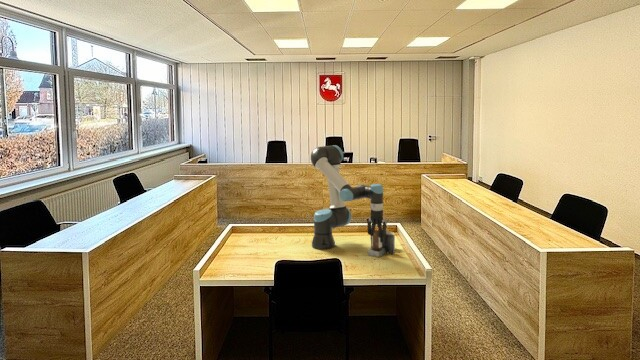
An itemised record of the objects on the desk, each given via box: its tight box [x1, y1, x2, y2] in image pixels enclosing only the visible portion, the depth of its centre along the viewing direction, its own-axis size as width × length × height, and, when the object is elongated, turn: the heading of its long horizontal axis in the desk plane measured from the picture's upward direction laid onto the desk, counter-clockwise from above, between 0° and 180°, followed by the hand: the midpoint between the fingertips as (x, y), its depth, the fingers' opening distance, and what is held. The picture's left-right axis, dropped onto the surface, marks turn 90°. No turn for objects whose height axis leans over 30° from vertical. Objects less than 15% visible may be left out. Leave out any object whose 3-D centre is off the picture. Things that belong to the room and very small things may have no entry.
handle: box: [373, 229, 380, 251], centre depth 326 cm, size 4×4×14 cm
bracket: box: [367, 233, 396, 258], centre depth 328 cm, size 16×12×12 cm
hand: (376, 246), depth 326 cm, fingers open, 4 cm apart
